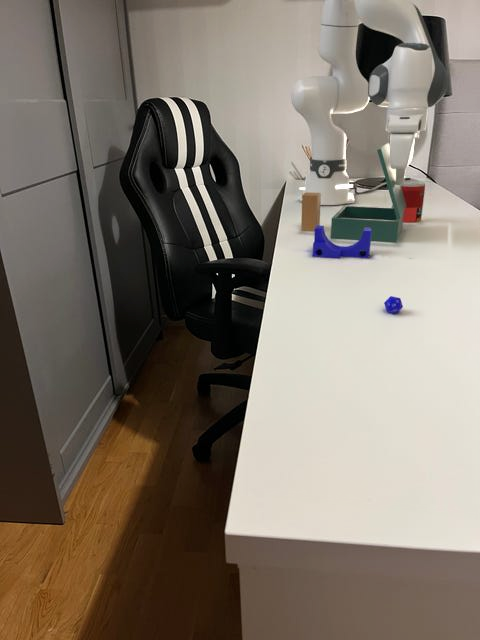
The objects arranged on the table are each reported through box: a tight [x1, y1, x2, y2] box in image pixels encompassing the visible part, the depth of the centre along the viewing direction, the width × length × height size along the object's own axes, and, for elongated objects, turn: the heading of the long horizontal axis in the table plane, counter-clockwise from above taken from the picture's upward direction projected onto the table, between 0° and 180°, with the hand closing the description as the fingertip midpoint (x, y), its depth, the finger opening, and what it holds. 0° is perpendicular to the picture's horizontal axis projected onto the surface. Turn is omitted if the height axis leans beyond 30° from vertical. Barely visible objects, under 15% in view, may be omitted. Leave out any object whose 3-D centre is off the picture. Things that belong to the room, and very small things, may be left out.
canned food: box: [391, 179, 426, 224], centre depth 138 cm, size 8×8×11 cm
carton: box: [300, 192, 321, 232], centre depth 130 cm, size 4×4×10 cm
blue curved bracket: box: [312, 225, 372, 259], centre depth 110 cm, size 12×4×6 cm, turn 72°
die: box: [383, 295, 404, 315], centre depth 81 cm, size 3×3×3 cm
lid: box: [376, 142, 406, 220], centre depth 120 cm, size 16×17×1 cm
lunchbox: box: [330, 205, 404, 244], centre depth 126 cm, size 16×17×6 cm
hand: (399, 184), depth 120 cm, fingers closed
